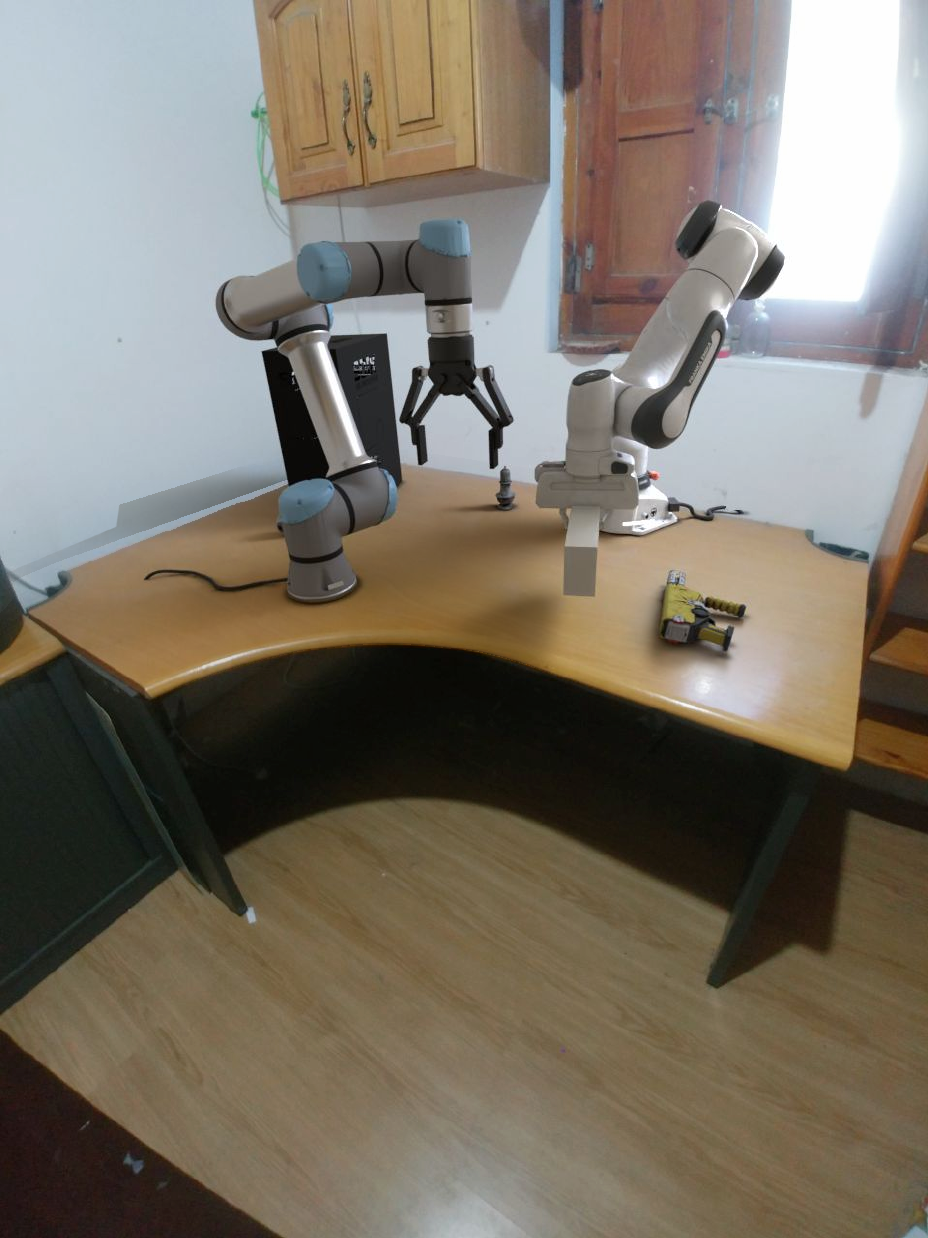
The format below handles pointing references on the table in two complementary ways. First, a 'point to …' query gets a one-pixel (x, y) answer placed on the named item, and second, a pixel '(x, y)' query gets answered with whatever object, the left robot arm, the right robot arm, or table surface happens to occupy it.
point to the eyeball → (279, 525)
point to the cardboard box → (364, 398)
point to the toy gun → (693, 614)
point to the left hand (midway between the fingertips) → (457, 465)
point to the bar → (581, 551)
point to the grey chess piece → (505, 491)
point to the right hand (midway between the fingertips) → (585, 527)
